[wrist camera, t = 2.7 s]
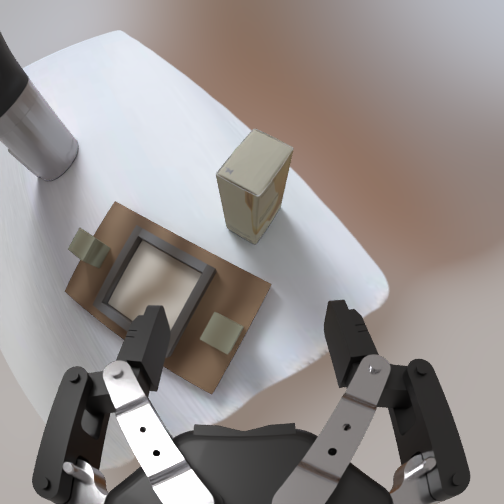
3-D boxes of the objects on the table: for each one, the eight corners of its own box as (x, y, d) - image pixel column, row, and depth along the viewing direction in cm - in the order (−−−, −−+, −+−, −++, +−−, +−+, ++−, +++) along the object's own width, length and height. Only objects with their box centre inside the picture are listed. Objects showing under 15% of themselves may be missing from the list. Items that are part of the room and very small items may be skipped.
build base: (70, 293, 31) (46, 286, 26) (119, 205, 34) (101, 187, 29) (213, 391, 28) (205, 404, 23) (270, 286, 31) (274, 277, 26)
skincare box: (255, 246, 33) (257, 201, 21) (225, 228, 33) (211, 176, 22) (282, 204, 34) (296, 146, 22) (253, 188, 35) (253, 126, 23)
